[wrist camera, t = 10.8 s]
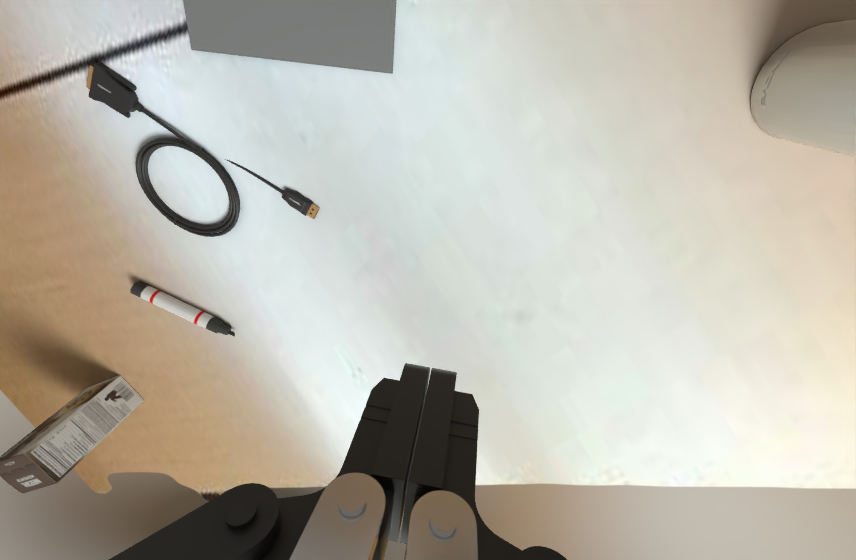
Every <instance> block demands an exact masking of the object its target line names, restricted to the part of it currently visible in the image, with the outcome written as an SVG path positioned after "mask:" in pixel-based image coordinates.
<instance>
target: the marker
mask: <svg viewBox="0 0 856 560" xmlns="http://www.w3.org/2000/svg"><path fill="white" fill-rule="evenodd" d="M131 293H132V294H134V295H136V296H138V297H140V298H142V299H144V300H146V301H148V302H150V303H152V304H155V305H157V306H159V307H161V308H163V309H165V310H167V311H169V312H172V313H174V314H176V315H178V316H180V317H182V318H184V319H186V320H189V321H191V322H193V323H195V324H197V325H199V326H201V327H203V328H205V329H208V330H210V331H213V332H215V333H218V332H219V333H222V334H225V335H228V334H230V335H232V336H235V333H234V332H232V331H231V328H230V327H229V326H227V325H226V324H224V323H223V322H224V321H222V320H220V319H217V318H215V317H214V316H212V315H210V314H208V313H205V312H203V311H201V310H199V309H197V308H195V307H193V306H191V305H189V304H187V303H184V302H182V301H180V300H178V299H176V298H174V297H172V296H170V295H168V294H166V293H163V292H161V291H159V290H157V289H155V288H153V287H151V286H148V285H146V284H144V283H142V282H136V283H135V284H134V285H133V286H132V288H131Z"/></svg>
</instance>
